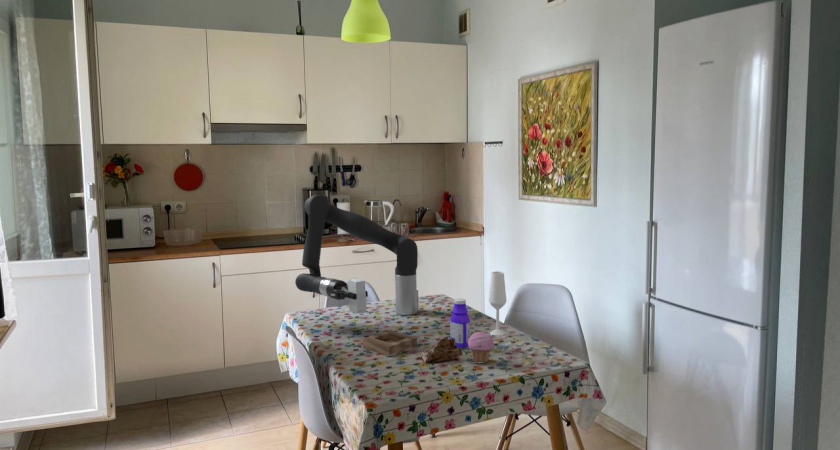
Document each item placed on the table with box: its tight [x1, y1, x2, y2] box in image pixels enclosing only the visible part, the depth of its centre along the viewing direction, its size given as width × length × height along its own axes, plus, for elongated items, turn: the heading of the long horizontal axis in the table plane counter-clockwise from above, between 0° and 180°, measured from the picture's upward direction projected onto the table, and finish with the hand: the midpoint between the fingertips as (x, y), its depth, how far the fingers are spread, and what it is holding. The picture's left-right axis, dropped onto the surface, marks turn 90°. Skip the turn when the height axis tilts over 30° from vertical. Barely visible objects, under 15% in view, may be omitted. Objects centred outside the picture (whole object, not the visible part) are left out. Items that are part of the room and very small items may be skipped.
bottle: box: [449, 297, 471, 349], centre depth 231 cm, size 7×6×17 cm
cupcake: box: [468, 331, 495, 364], centre depth 215 cm, size 9×9×10 cm
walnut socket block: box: [362, 330, 418, 357], centre depth 232 cm, size 14×14×4 cm
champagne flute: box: [488, 270, 507, 336], centre depth 245 cm, size 7×7×24 cm
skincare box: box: [347, 278, 367, 314], centre depth 240 cm, size 6×4×12 cm
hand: (361, 295), depth 238 cm, fingers closed on skincare box, 4 cm apart
